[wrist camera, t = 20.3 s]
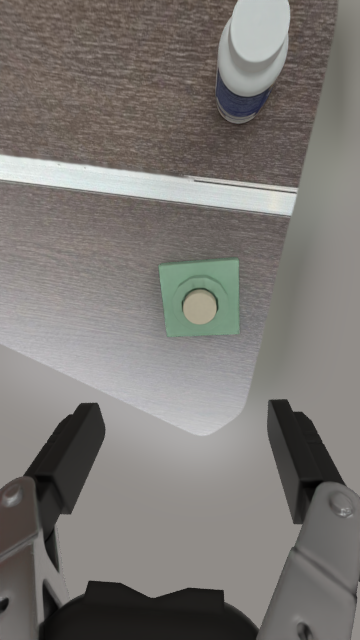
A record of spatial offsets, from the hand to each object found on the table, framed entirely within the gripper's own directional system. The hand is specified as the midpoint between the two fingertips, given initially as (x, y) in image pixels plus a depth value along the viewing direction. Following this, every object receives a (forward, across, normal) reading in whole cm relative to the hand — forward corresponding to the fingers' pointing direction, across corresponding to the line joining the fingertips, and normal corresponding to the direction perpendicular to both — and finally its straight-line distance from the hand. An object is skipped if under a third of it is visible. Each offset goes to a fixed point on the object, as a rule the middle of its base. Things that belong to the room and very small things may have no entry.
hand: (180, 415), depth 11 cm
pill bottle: (+25, -6, -20) cm, 32 cm away
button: (+20, -1, +2) cm, 20 cm away
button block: (+24, -1, +2) cm, 24 cm away
